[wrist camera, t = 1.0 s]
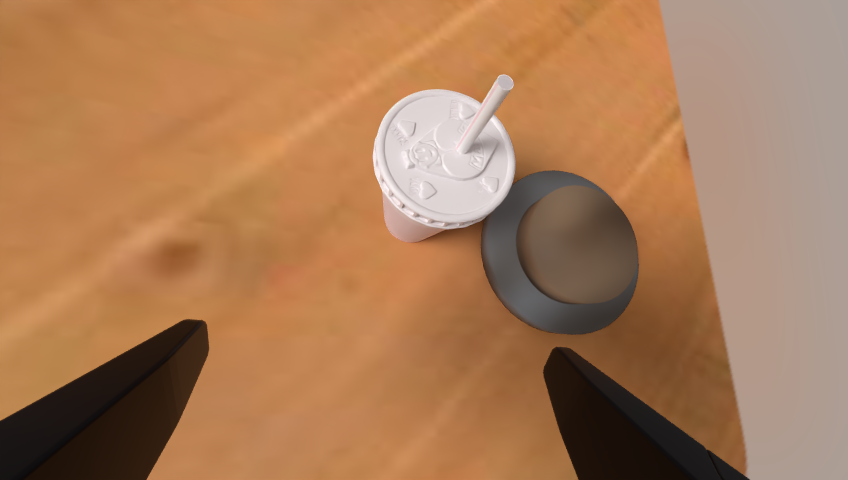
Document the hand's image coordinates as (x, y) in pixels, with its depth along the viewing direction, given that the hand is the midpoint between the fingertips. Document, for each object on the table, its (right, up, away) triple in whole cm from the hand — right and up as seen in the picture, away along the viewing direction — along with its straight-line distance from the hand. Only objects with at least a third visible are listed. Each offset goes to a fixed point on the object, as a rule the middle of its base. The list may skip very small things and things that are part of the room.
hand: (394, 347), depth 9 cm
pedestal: (+11, +2, +17) cm, 20 cm away
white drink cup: (0, +4, +15) cm, 16 cm away
